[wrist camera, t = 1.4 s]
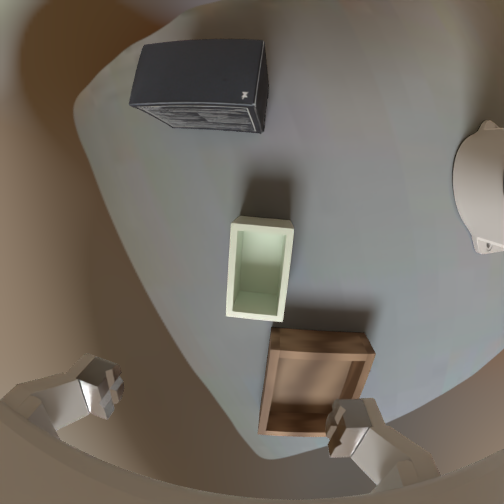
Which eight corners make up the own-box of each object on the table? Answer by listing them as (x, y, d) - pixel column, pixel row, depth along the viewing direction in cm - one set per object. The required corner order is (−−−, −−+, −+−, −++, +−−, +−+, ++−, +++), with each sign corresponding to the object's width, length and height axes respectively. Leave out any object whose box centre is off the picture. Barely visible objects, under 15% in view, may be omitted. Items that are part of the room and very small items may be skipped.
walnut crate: (364, 332, 32) (375, 353, 27) (337, 412, 36) (342, 435, 31) (271, 327, 33) (270, 349, 28) (259, 410, 36) (257, 434, 32)
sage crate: (290, 220, 30) (294, 228, 24) (281, 297, 32) (282, 322, 26) (239, 215, 30) (231, 223, 24) (234, 293, 32) (225, 316, 26)
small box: (270, 81, 26) (268, 36, 16) (263, 134, 28) (258, 109, 18) (179, 78, 27) (141, 41, 17) (170, 129, 28) (126, 108, 18)
